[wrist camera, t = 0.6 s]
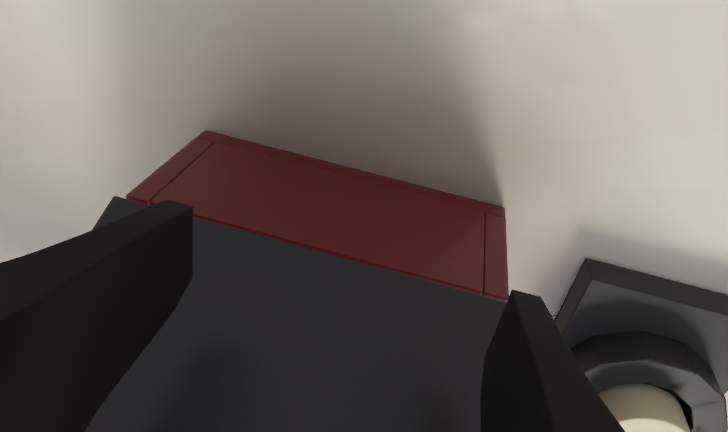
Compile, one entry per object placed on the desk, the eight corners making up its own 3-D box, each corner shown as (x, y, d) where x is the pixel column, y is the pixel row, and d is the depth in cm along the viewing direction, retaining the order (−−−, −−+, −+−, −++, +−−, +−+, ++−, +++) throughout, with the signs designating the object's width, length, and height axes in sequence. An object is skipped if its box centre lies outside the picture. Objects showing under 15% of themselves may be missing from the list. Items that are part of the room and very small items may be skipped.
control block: (647, 456, 27) (663, 514, 24) (507, 415, 27) (508, 469, 25) (762, 304, 22) (798, 358, 19) (585, 257, 22) (597, 305, 20)
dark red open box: (419, 435, 29) (404, 543, 25) (198, 370, 30) (141, 462, 26) (505, 207, 22) (509, 299, 17) (204, 129, 23) (125, 195, 18)
